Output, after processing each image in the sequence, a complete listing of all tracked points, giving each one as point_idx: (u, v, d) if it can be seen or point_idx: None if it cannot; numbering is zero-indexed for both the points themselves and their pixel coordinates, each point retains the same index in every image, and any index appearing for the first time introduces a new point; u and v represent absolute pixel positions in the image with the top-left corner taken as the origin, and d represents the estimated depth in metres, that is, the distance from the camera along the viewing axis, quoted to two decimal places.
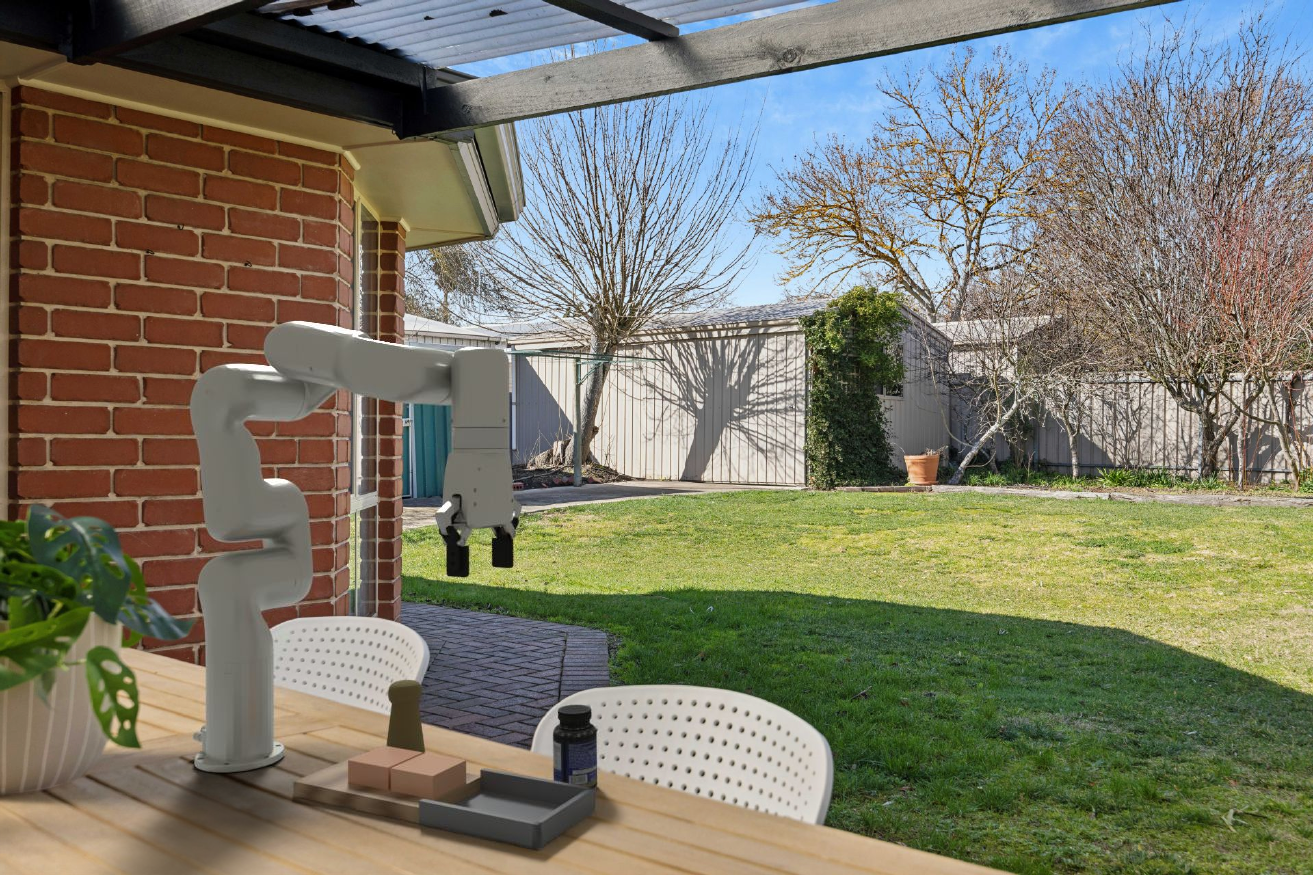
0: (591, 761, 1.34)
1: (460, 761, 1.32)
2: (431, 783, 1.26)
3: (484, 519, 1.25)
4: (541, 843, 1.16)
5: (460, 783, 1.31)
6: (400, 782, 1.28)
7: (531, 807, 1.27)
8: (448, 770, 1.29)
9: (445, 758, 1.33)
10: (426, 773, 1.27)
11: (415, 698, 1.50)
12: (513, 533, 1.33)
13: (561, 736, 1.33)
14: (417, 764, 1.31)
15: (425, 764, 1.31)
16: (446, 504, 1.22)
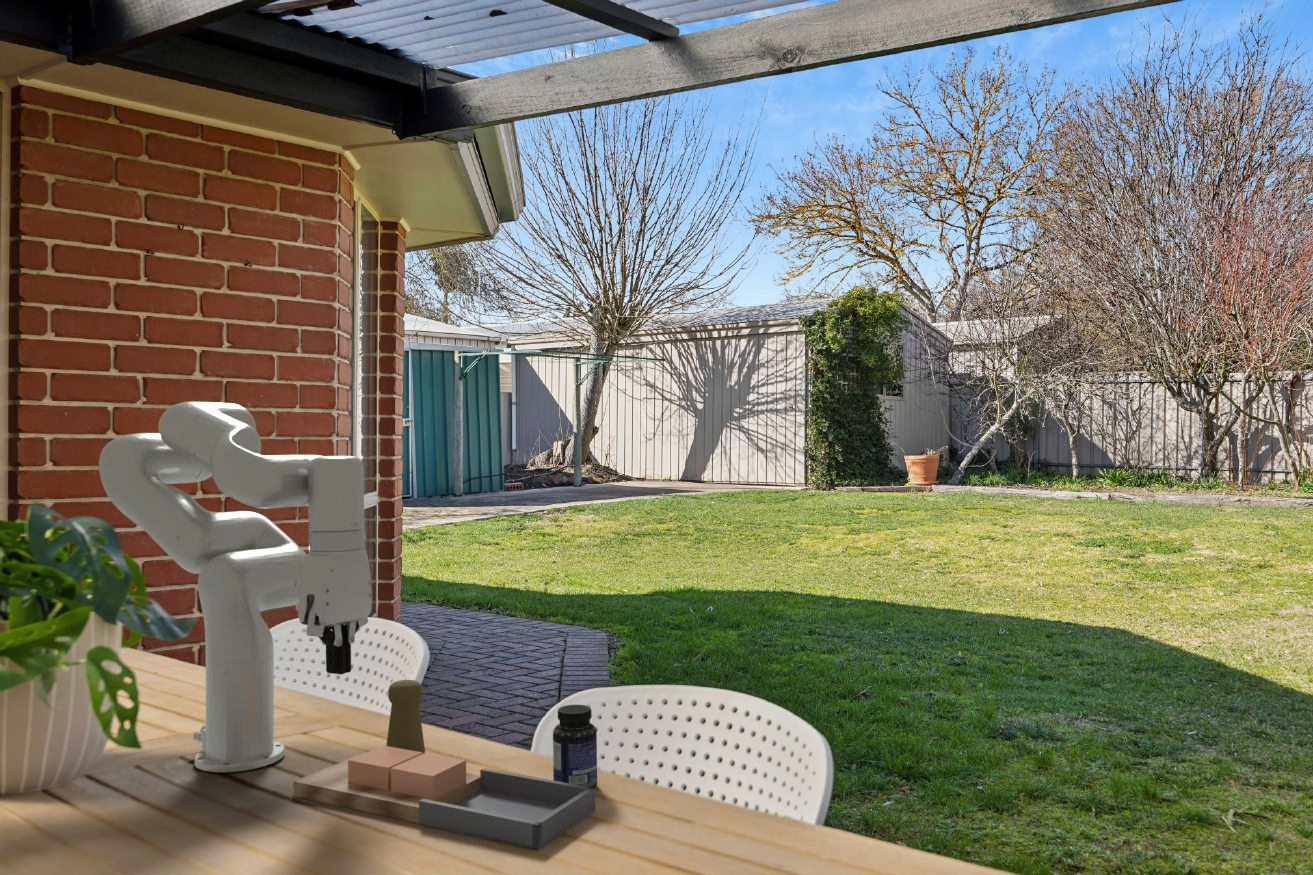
0: (591, 761, 1.34)
1: (460, 761, 1.32)
2: (431, 783, 1.26)
3: (338, 616, 1.35)
4: (541, 843, 1.16)
5: (460, 783, 1.31)
6: (400, 782, 1.28)
7: (531, 807, 1.27)
8: (448, 770, 1.29)
9: (445, 758, 1.33)
10: (426, 773, 1.27)
11: (416, 698, 1.50)
12: (351, 640, 1.39)
13: (561, 736, 1.33)
14: (417, 764, 1.31)
15: (425, 764, 1.31)
16: (310, 619, 1.34)
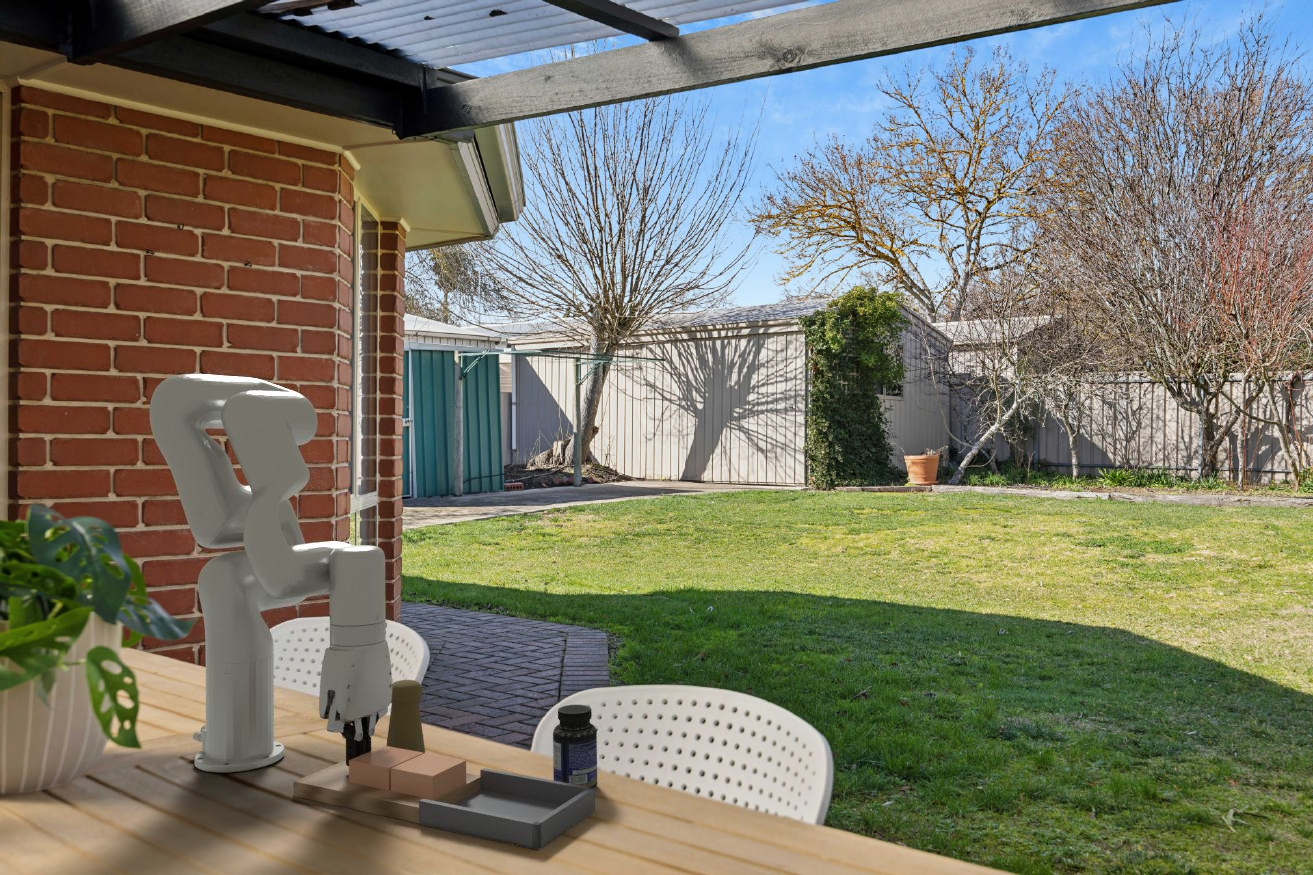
0: (591, 761, 1.34)
1: (460, 761, 1.32)
2: (431, 783, 1.26)
3: (359, 711, 1.33)
4: (541, 843, 1.16)
5: (460, 783, 1.31)
6: (400, 782, 1.28)
7: (531, 807, 1.27)
8: (448, 770, 1.29)
9: (445, 758, 1.33)
10: (426, 773, 1.27)
11: (416, 698, 1.50)
12: (371, 733, 1.37)
13: (562, 736, 1.33)
14: (417, 764, 1.31)
15: (425, 764, 1.31)
16: (331, 714, 1.32)
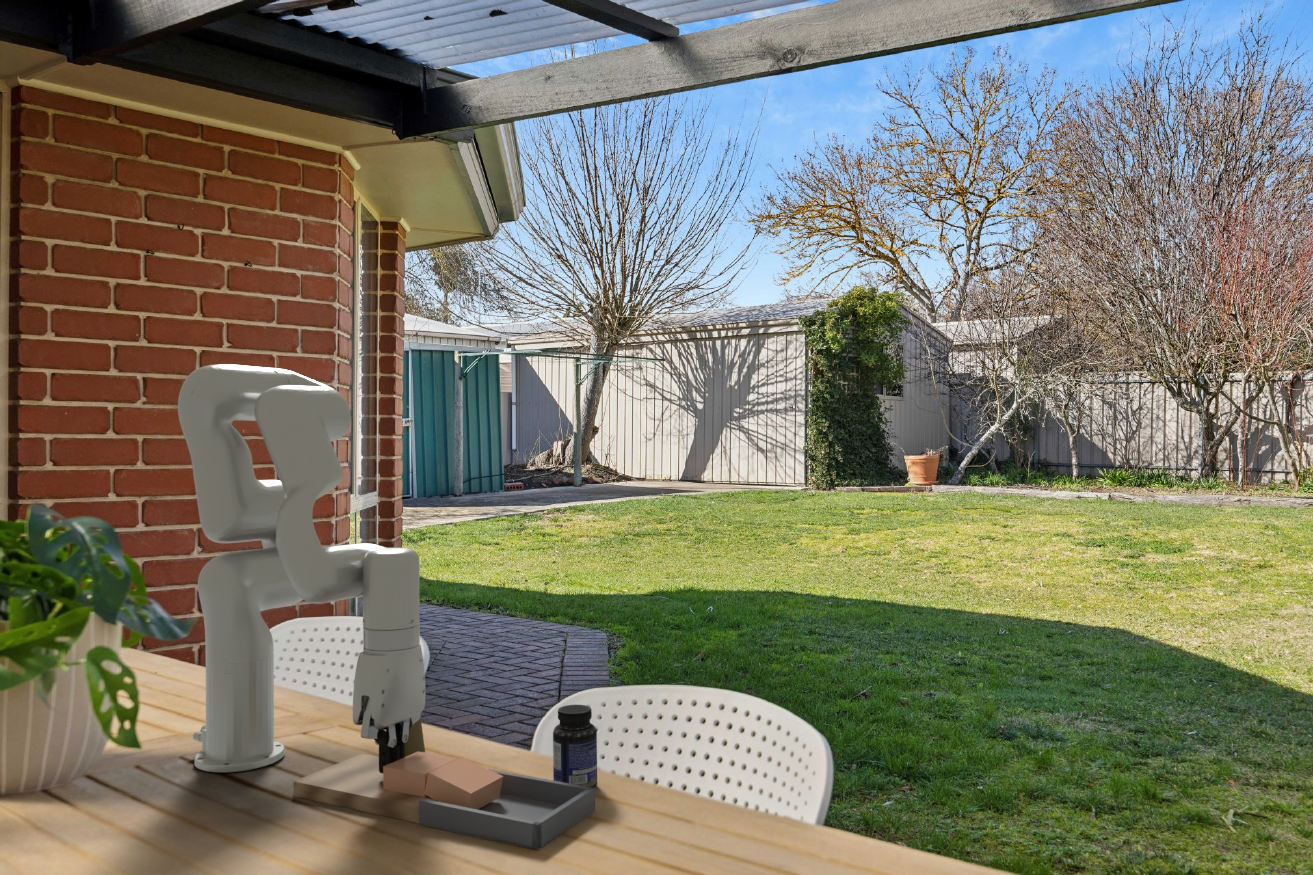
0: (591, 761, 1.34)
1: (497, 777, 1.29)
2: (468, 799, 1.23)
3: (393, 717, 1.31)
4: (541, 843, 1.16)
5: (493, 798, 1.29)
6: (435, 789, 1.26)
7: (531, 807, 1.27)
8: (486, 786, 1.26)
9: (483, 769, 1.30)
10: (464, 788, 1.24)
11: None
12: (405, 739, 1.34)
13: (562, 736, 1.33)
14: (455, 772, 1.28)
15: (462, 773, 1.28)
16: (365, 720, 1.29)
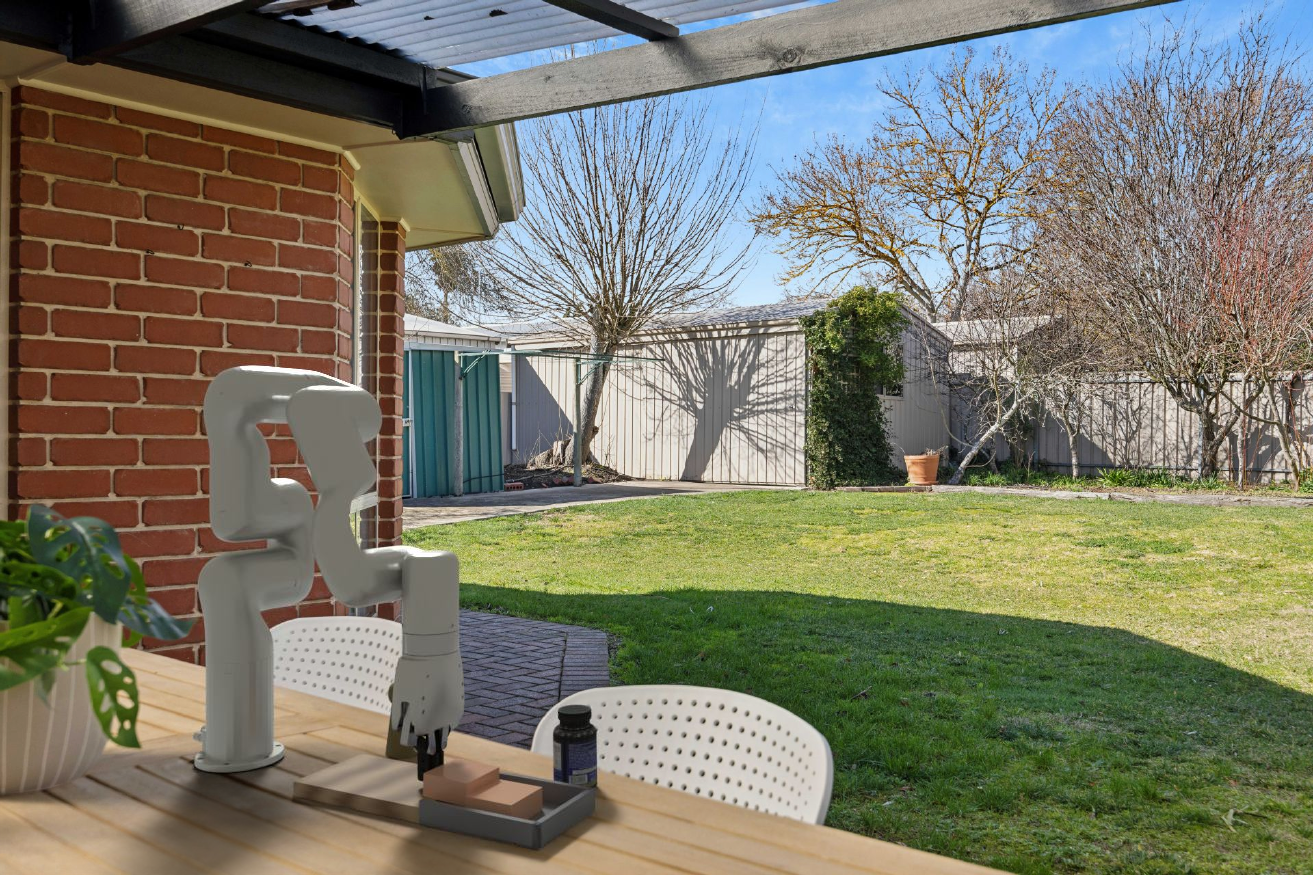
0: (591, 761, 1.34)
1: (536, 788, 1.26)
2: (510, 812, 1.20)
3: (433, 724, 1.28)
4: (541, 843, 1.16)
5: (537, 811, 1.26)
6: None
7: None
8: (526, 798, 1.23)
9: (520, 785, 1.27)
10: (504, 802, 1.21)
11: None
12: (444, 746, 1.31)
13: (562, 736, 1.33)
14: (492, 791, 1.25)
15: (500, 791, 1.25)
16: (404, 727, 1.26)
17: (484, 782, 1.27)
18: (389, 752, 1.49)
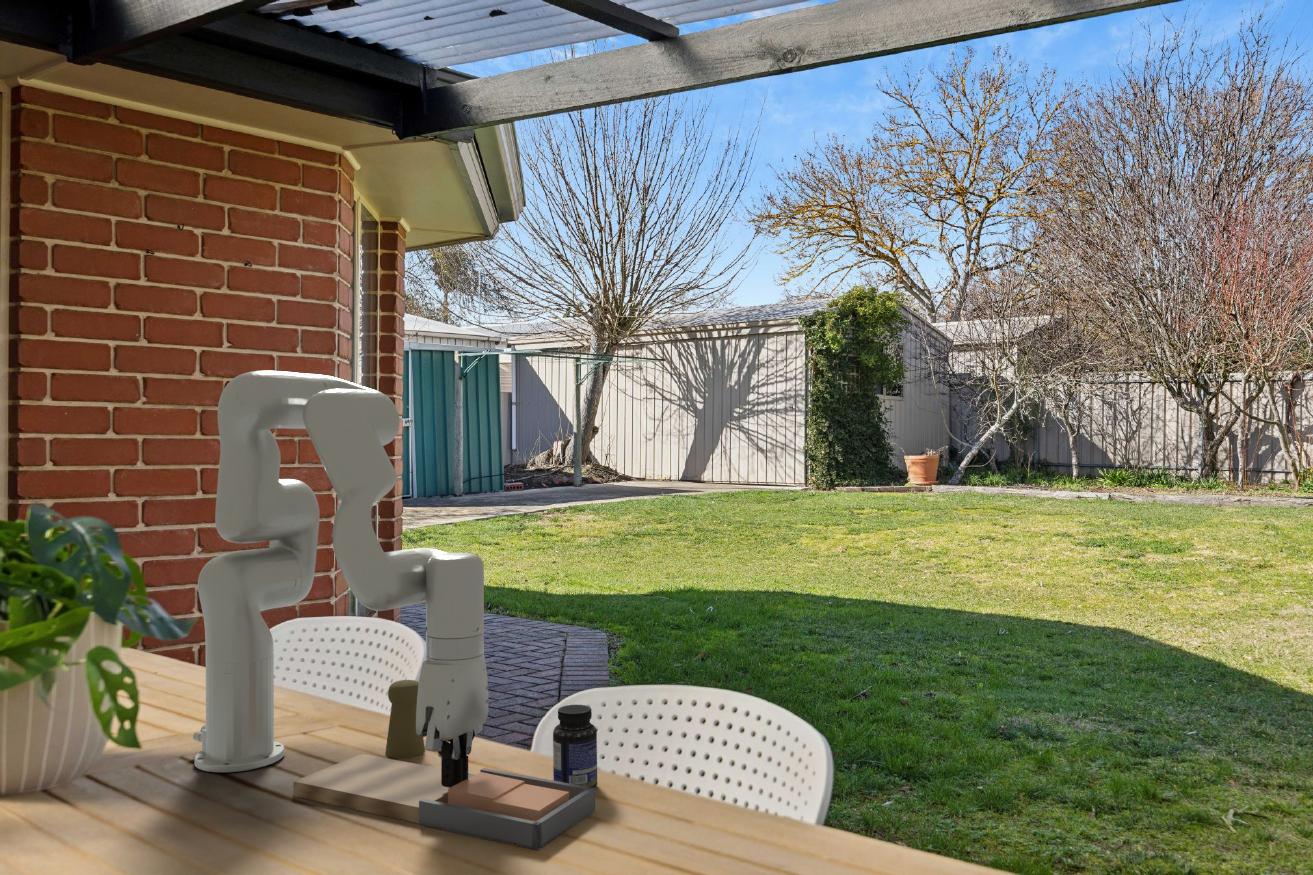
0: (591, 761, 1.34)
1: (563, 793, 1.24)
2: (538, 818, 1.19)
3: (457, 728, 1.26)
4: (541, 843, 1.16)
5: None
6: None
7: None
8: (553, 803, 1.22)
9: (547, 789, 1.26)
10: (531, 807, 1.20)
11: (416, 698, 1.50)
12: (468, 751, 1.30)
13: (562, 736, 1.33)
14: (519, 796, 1.23)
15: (527, 796, 1.23)
16: (429, 732, 1.25)
17: None
18: (389, 752, 1.49)
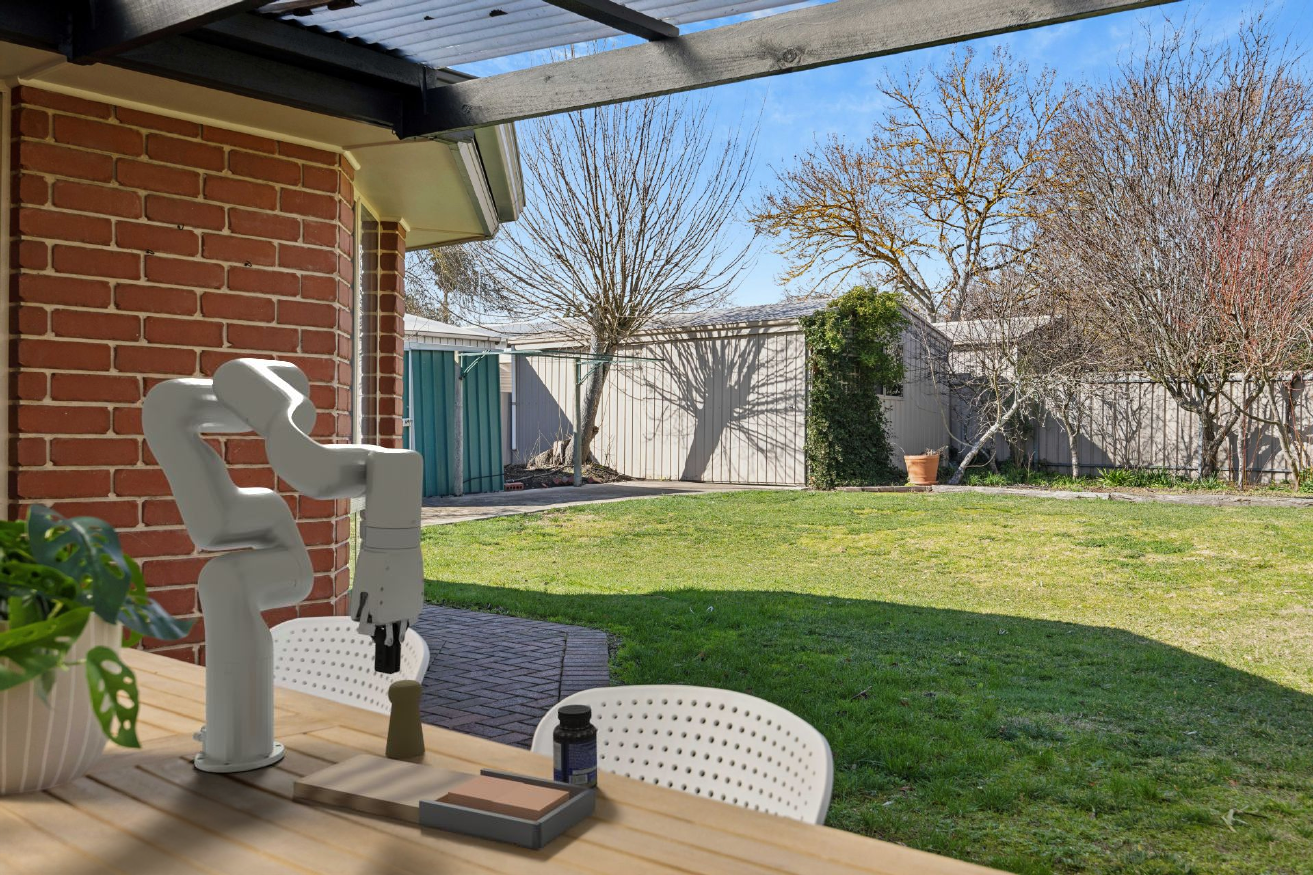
0: (591, 761, 1.34)
1: (563, 793, 1.24)
2: (538, 818, 1.19)
3: (391, 615, 1.31)
4: (541, 843, 1.16)
5: None
6: None
7: None
8: (553, 803, 1.22)
9: (547, 789, 1.26)
10: (531, 807, 1.20)
11: (416, 698, 1.50)
12: (401, 639, 1.35)
13: (562, 736, 1.33)
14: (519, 796, 1.23)
15: (527, 796, 1.23)
16: (362, 617, 1.30)
17: None
18: (389, 752, 1.49)
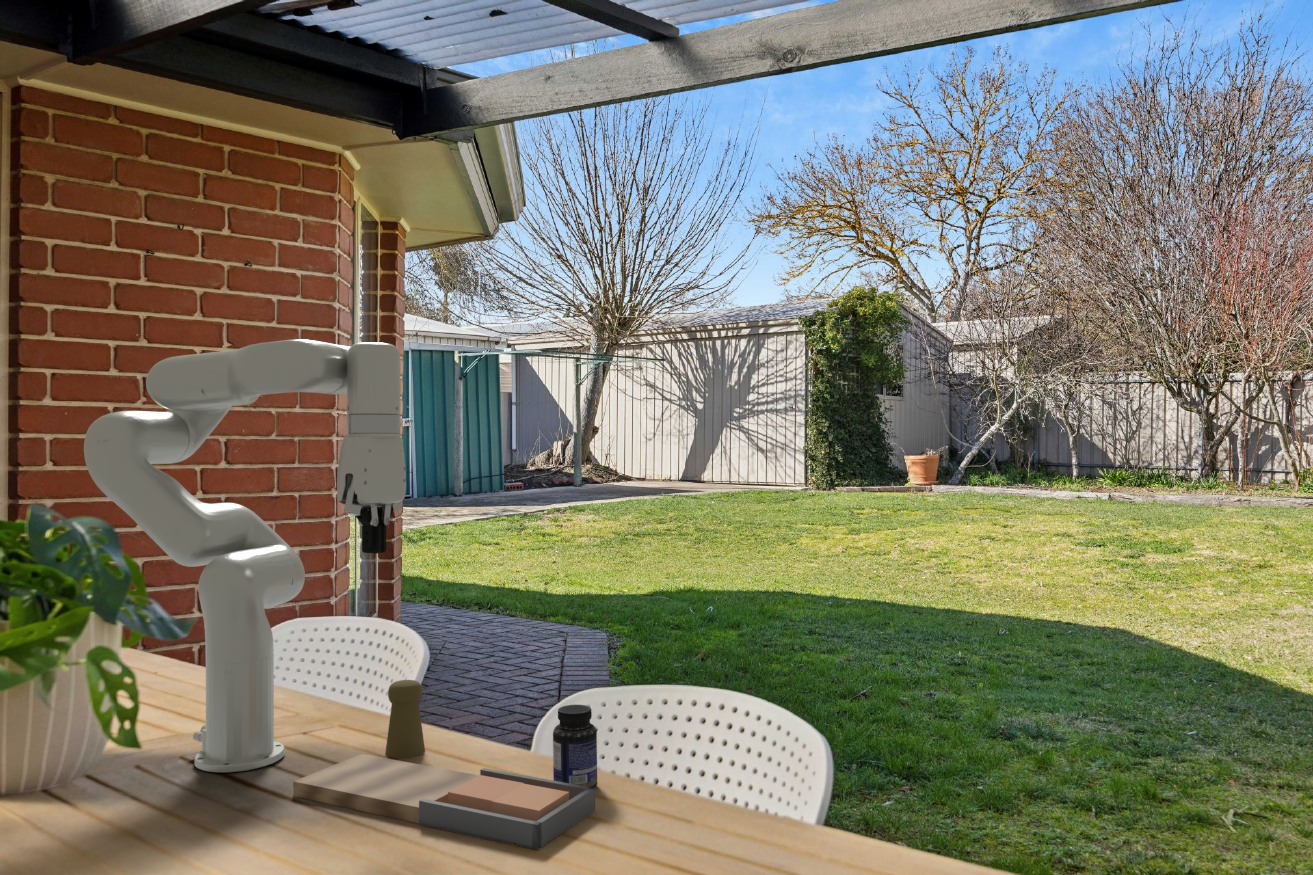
0: (591, 761, 1.34)
1: (563, 793, 1.24)
2: (538, 818, 1.19)
3: (375, 496, 1.40)
4: (541, 843, 1.16)
5: None
6: None
7: None
8: (553, 803, 1.22)
9: (547, 789, 1.26)
10: (531, 807, 1.20)
11: (416, 698, 1.50)
12: (386, 522, 1.44)
13: (562, 736, 1.33)
14: (519, 796, 1.23)
15: (527, 796, 1.23)
16: (348, 497, 1.39)
17: None
18: (389, 752, 1.49)
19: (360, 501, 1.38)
